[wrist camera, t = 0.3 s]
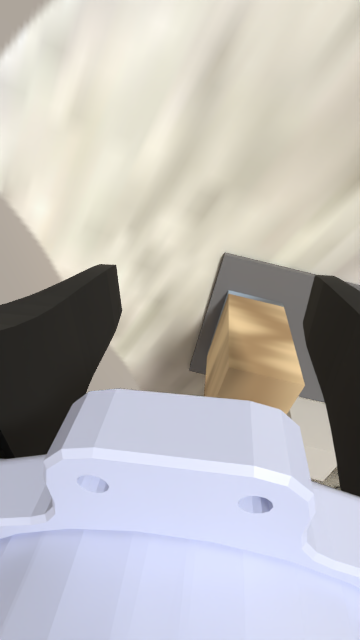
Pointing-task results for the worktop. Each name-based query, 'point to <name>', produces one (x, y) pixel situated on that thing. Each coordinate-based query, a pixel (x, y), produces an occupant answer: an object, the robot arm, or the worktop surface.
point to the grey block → (315, 436)
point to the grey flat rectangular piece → (267, 285)
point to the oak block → (253, 354)
